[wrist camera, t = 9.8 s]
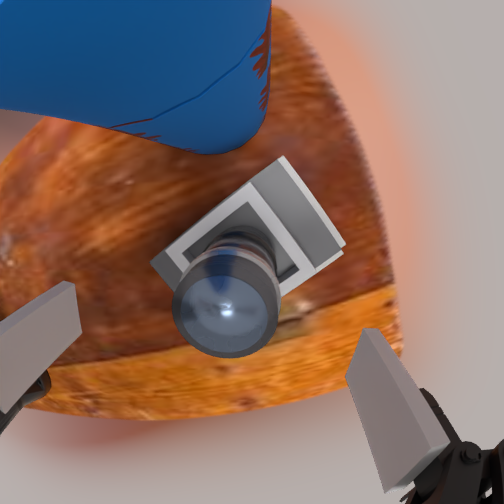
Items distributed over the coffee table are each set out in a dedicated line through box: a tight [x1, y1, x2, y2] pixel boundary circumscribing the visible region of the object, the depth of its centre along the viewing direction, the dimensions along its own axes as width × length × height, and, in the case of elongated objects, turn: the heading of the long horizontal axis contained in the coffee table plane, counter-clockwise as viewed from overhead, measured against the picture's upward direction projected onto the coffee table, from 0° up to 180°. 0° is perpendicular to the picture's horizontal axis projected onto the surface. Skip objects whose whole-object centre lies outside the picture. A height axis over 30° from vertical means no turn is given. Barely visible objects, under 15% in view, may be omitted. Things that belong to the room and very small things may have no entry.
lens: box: [172, 225, 281, 358], centre depth 17 cm, size 6×6×10 cm
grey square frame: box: [149, 156, 346, 297], centre depth 24 cm, size 15×10×7 cm, turn 128°
